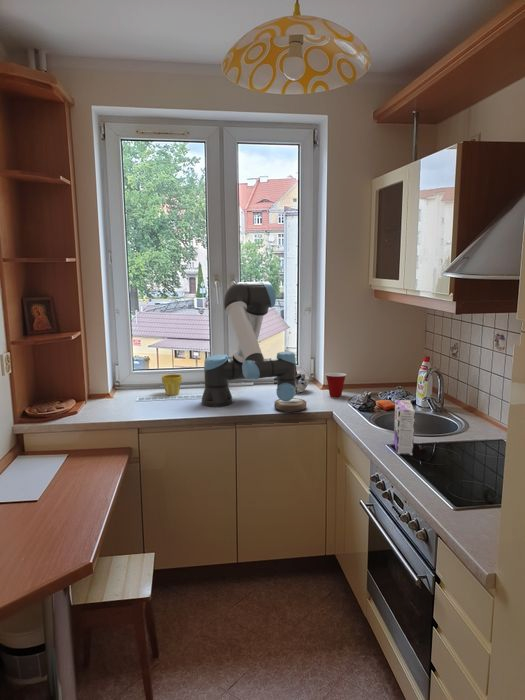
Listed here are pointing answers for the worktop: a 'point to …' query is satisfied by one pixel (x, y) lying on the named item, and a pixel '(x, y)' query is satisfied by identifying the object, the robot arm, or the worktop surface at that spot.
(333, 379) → the plastic cup
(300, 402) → the disc
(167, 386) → the plant pot
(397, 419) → the candy box
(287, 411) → the turntable base
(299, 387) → the teacup
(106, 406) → the worktop surface
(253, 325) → the robot arm
